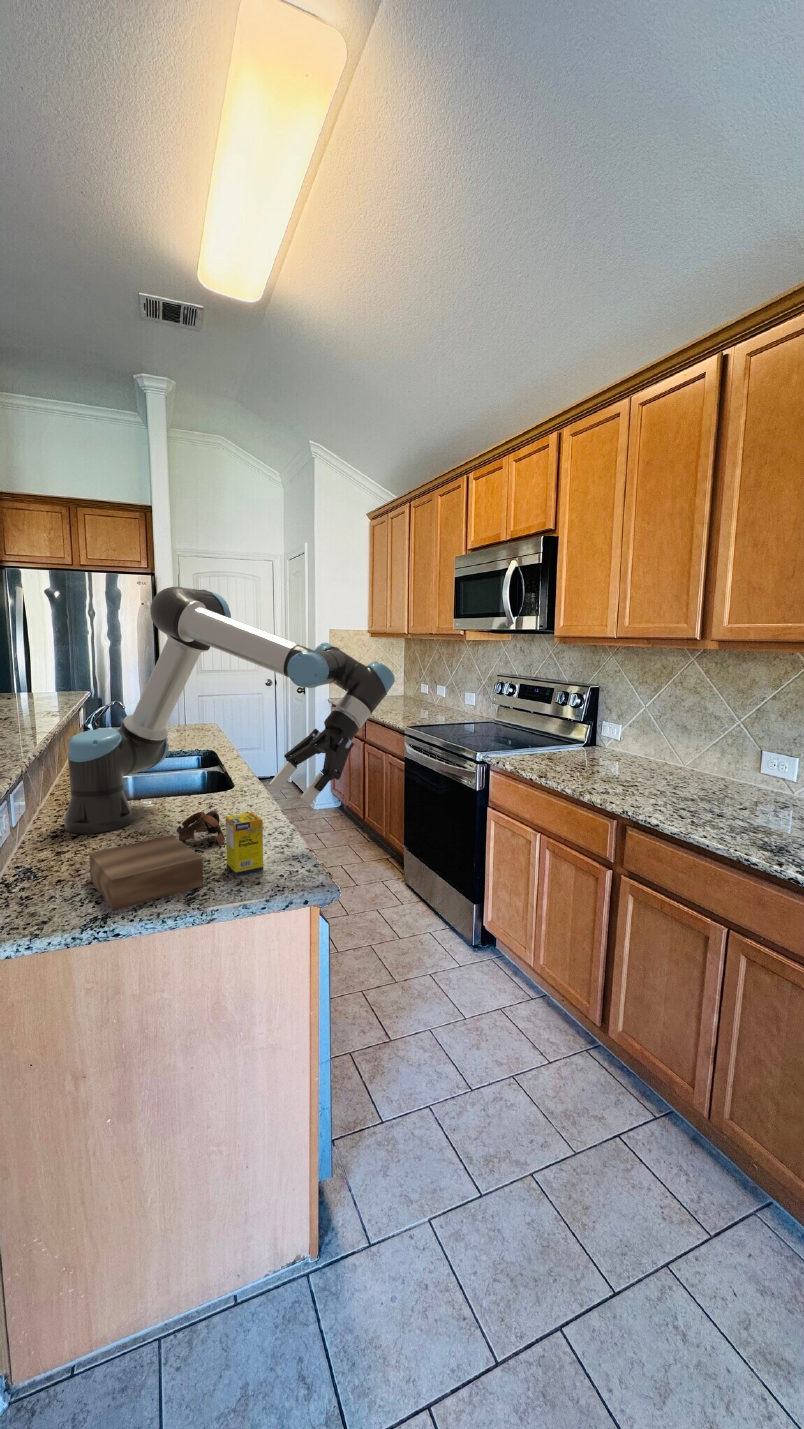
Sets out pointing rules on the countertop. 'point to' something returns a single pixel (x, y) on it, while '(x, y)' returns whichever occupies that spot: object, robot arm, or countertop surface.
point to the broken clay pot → (201, 826)
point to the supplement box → (244, 843)
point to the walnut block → (145, 871)
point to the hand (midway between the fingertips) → (288, 794)
